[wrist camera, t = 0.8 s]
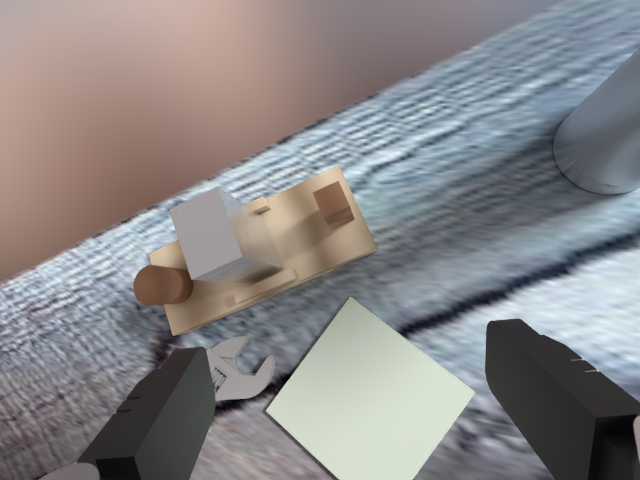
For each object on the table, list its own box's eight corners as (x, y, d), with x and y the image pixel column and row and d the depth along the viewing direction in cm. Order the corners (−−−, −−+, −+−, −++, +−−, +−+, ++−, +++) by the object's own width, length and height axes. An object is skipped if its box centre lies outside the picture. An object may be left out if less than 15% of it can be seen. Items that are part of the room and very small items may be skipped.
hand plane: (342, 175, 36) (332, 143, 28) (376, 251, 34) (375, 238, 27) (166, 257, 38) (111, 247, 31) (189, 332, 36) (137, 342, 29)
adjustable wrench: (85, 486, 36) (70, 496, 35) (67, 428, 38) (52, 435, 36) (283, 378, 34) (277, 383, 33) (256, 321, 36) (249, 323, 34)
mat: (350, 296, 34) (350, 296, 33) (473, 390, 31) (475, 392, 30) (267, 408, 34) (265, 410, 33) (382, 516, 30) (382, 520, 30)
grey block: (264, 218, 34) (217, 186, 24) (283, 268, 33) (242, 256, 23) (229, 234, 34) (169, 209, 24) (246, 284, 33) (191, 279, 23)
